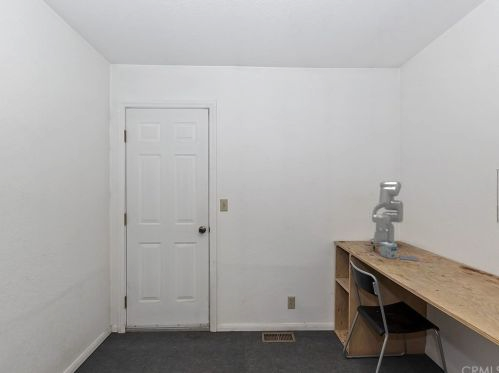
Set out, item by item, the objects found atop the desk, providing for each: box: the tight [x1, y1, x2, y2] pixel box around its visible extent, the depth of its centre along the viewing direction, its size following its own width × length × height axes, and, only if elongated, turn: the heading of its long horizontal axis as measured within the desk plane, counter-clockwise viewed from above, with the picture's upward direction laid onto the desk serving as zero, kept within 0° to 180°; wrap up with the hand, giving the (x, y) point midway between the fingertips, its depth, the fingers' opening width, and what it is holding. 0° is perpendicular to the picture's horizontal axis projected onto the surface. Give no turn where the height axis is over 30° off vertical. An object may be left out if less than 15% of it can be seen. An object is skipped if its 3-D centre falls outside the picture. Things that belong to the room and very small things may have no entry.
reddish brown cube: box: [376, 244, 380, 254], centre depth 232 cm, size 6×6×6 cm
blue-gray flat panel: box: [399, 254, 419, 262], centre depth 213 cm, size 12×12×1 cm
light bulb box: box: [379, 242, 398, 260], centre depth 217 cm, size 11×7×11 cm, turn 22°
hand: (380, 250), depth 232 cm, fingers open, 9 cm apart
